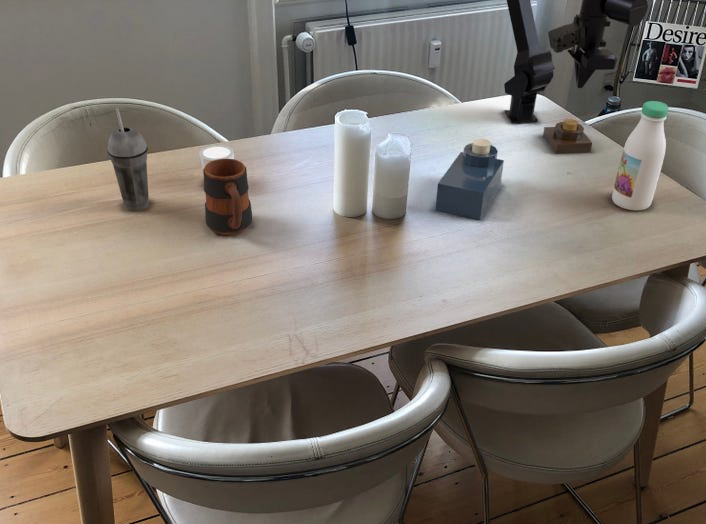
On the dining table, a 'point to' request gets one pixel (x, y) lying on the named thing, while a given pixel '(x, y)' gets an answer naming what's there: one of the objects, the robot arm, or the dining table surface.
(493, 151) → the blue push button box
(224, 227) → the mug
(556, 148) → the switch block
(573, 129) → the brass button
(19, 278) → the dining table surface
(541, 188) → the dining table surface
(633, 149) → the milk bottle
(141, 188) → the beverage cup
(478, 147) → the white short cylinder
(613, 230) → the dining table surface
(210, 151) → the shot glass
